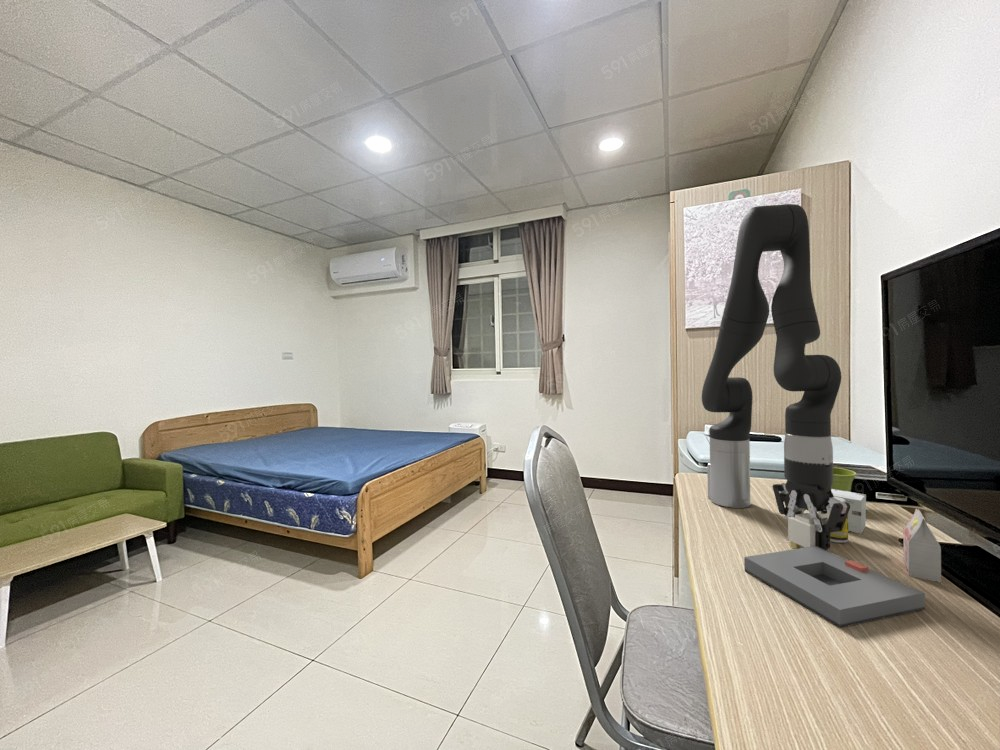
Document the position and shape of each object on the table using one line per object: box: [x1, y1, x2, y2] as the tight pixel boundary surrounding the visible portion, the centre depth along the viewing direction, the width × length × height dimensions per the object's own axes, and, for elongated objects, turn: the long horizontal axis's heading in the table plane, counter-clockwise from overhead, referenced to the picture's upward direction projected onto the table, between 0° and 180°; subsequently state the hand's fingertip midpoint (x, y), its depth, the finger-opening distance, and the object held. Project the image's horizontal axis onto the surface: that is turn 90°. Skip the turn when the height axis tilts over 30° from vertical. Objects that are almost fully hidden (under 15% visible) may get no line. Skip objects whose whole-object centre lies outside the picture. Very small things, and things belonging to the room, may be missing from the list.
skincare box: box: [831, 489, 867, 535], centre depth 88 cm, size 6×6×7 cm
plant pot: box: [831, 466, 857, 492], centre depth 103 cm, size 9×9×9 cm
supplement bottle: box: [817, 496, 849, 544], centre depth 82 cm, size 5×5×8 cm
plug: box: [787, 512, 823, 550], centre depth 77 cm, size 4×5×7 cm
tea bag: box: [902, 508, 942, 583], centre depth 69 cm, size 4×7×10 cm, turn 140°
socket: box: [743, 546, 926, 628], centre depth 64 cm, size 16×16×3 cm
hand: (808, 544), depth 77 cm, fingers closed on plug, 4 cm apart
